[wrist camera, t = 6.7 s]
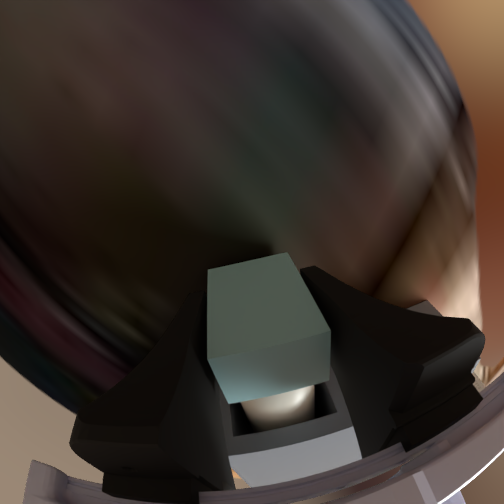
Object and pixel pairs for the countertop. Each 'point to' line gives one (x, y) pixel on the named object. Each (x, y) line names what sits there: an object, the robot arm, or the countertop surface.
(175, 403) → the robot arm
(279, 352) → the cartridge
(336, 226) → the countertop surface
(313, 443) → the housing
